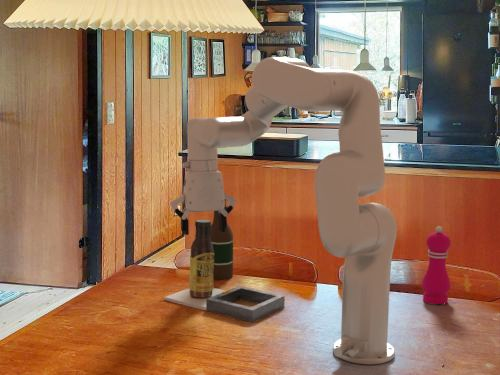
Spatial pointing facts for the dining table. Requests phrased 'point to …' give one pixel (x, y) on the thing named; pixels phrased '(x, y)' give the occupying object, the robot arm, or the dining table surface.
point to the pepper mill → (436, 269)
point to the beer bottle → (222, 249)
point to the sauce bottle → (201, 261)
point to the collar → (251, 314)
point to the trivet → (191, 298)
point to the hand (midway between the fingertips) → (204, 232)
